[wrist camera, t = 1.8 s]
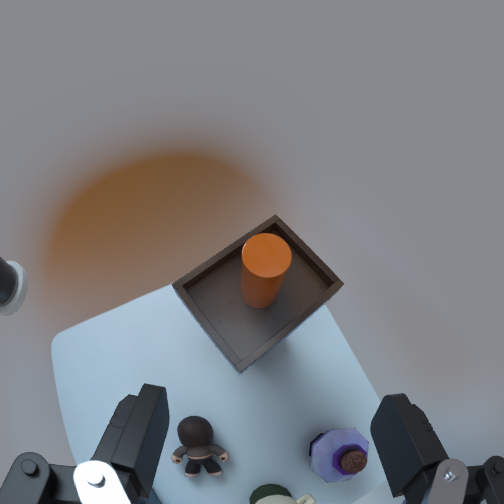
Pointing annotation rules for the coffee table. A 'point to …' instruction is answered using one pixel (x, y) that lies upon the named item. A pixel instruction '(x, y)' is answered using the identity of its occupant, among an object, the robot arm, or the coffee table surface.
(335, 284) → the walnut tray stand
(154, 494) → the three-compartment dish
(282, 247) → the orange glossy cylinder
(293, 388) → the coffee table surface
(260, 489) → the character mug
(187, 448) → the figurine
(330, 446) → the potion bottle
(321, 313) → the coffee table surface
